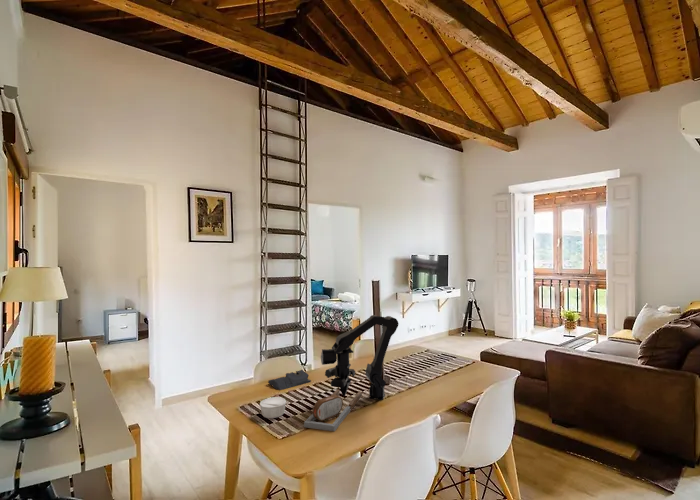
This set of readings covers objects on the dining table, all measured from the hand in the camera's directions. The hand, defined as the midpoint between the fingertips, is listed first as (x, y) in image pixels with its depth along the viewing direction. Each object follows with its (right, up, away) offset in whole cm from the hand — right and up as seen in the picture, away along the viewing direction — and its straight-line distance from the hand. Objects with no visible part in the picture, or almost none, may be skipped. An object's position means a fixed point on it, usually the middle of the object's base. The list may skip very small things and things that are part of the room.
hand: (343, 395), depth 177 cm
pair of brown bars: (0, -3, 0) cm, 3 cm away
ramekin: (-31, -3, -13) cm, 33 cm away
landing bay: (-6, -2, -18) cm, 19 cm away
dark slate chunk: (-30, -4, +27) cm, 41 cm away
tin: (-6, -3, -17) cm, 18 cm away
